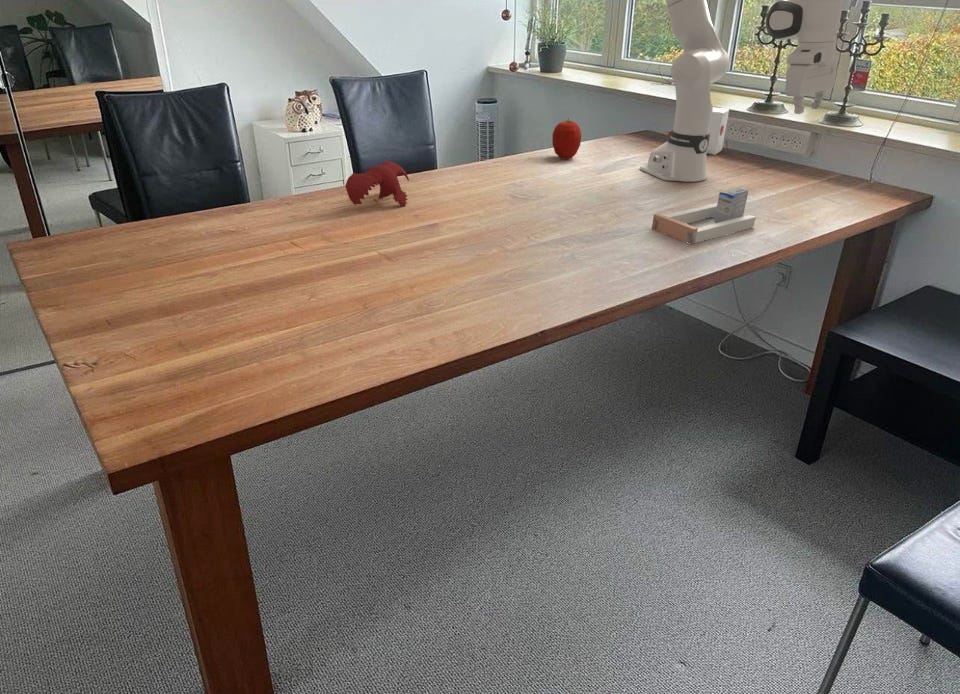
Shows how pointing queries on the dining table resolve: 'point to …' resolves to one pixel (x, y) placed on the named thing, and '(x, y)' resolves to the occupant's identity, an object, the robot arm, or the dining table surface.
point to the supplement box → (717, 130)
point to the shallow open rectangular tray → (690, 234)
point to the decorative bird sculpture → (377, 175)
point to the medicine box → (731, 204)
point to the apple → (566, 139)
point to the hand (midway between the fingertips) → (807, 111)
